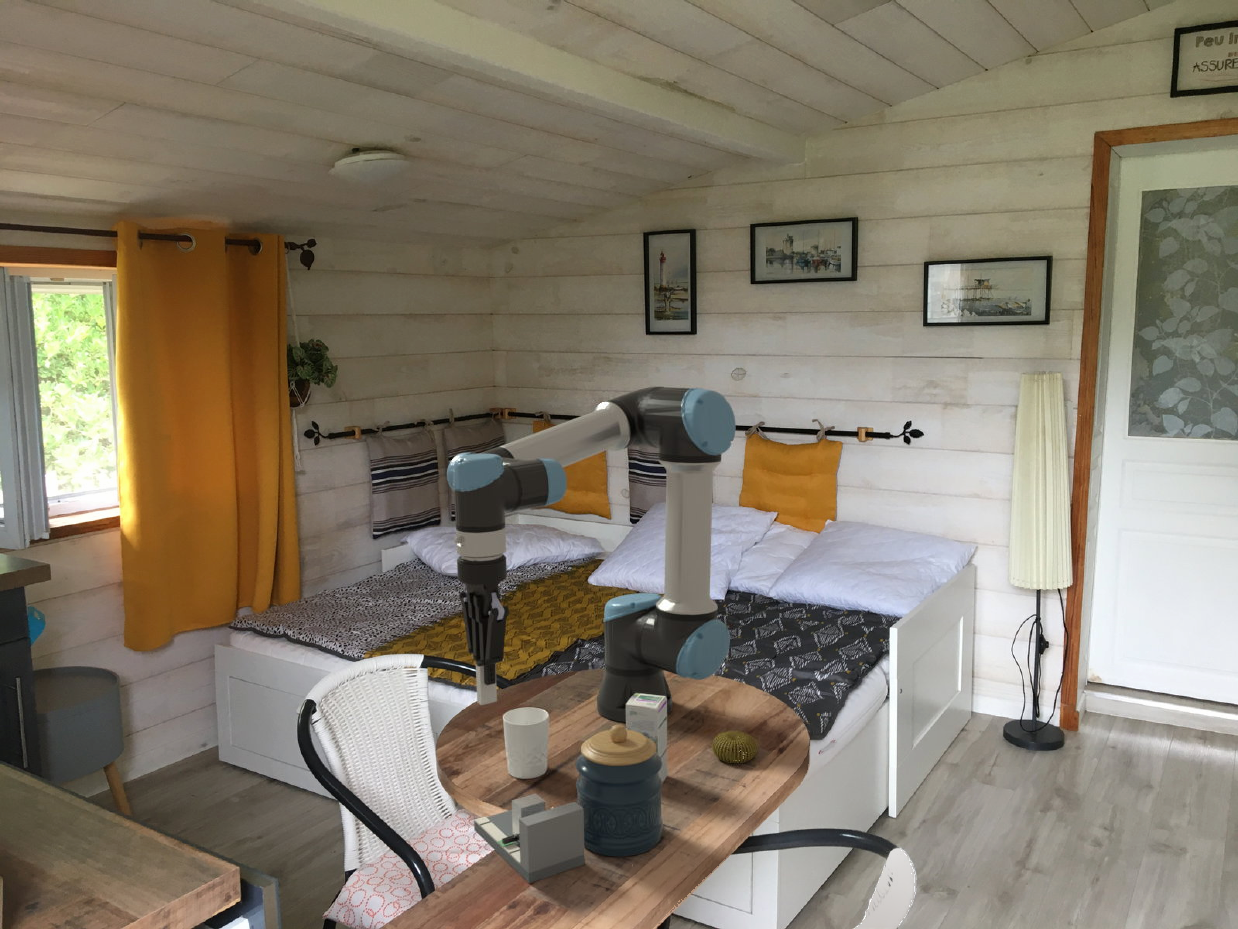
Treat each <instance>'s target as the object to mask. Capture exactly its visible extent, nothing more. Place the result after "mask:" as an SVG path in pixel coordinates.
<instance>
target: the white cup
mask: <svg viewBox="0 0 1238 929" xmlns="http://www.w3.org/2000/svg"><path fill="white" fill-rule="evenodd" d="M549 718H550V714H549V712H547V711H546V710H545V709H542V708H538V707H529V706H527V707H518V708H515V709H511V710H508V711H507V712H505V713H504V714H503V715H502V722H503V723H502V724H503V733H504V734H503V736H504V737H503V738H504V746H505V754H506V756H505V757H506V762H507V763H506V764H507V772H508V774H509V775H510V776H512V777H513V778H517V779H521V780H522V779H526V780H527V779H535V778H538V777H541V776H543V775H544V774H545V773H546V772H547V770H548V754H549V728H550V727H549V725H550V724H549V723H550V722H549V721H550V720H549Z"/></svg>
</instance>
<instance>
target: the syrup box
mask: <svg viewBox="0 0 1238 929" xmlns="http://www.w3.org/2000/svg"><path fill="white" fill-rule="evenodd" d="M625 728H626V729H627V730H633V731H636V732H639V733H641V734H643V735H644V736H645V737H647V738H649V739H651V740H652V741H653V742H654V743H655V745H656V752H655V753H657V754H658V755H659V757H660V758H661V760H662V767H661V769H660V771H659V777H660V778H661V780H662V784H664V781H665V780H666V778H667V777H668V774H669V773H668V730H667V729H668V715H667V698H666V696H659V695H650V694H640V693H635V694H634V695H633V696H632V697H631V698H630V699H629V701H628V702H627V703H626V722H625Z"/></svg>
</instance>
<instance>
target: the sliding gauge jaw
mask: <svg viewBox="0 0 1238 929" xmlns="http://www.w3.org/2000/svg"><path fill="white" fill-rule="evenodd" d="M511 810H512V827H513V835H512V836H509V837H506V838H503V839H502V843H503V844H504V845H505V844H508V843H511V842H514V841H518V842H519V843H520V833H519V819H520V818H523V817H526V816H530V815H533V814H536V813H539V812H543V811H546V801H545V799H543V798H542V797H541V796H540V795H538V794H537V793H533V794H529V795H526V796H523V797H519V798H515V799H513V800H511Z"/></svg>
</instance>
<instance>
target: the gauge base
mask: <svg viewBox="0 0 1238 929" xmlns="http://www.w3.org/2000/svg"><path fill="white" fill-rule="evenodd" d="M473 822H474V823H473V826H474V827H473V828H474V829H473V830H474V831H475V833H477V834H478V835H479V836H480V837H481V838H482V840H484V841H485V842H486V843H487V844H488V845H489V846H490V847H491V848H492V849H493V850H494V851H495V852H496V853H497V854H498V855H499V856H500V857H502V859H503V860H504V861H505V862H507V864H508V865H510V867H512V868H513V869H514V870H515V871H516V873H518V874H519V876H520V877H521V878H523V879H524V881H526V882H527V884H531V883H534V882H538V881H541V880H542V879H546V878H549V877H552V876H554V875H557V874H560V873H564V872H565V871H568V870H572V869H574V868H578V867H580V866H583V865H585V864H586V858H585V847H584V808H582V807H581V806H580V805H578V802H577V801H573V802H569V803H566V804H563V805H559V806H556V807H553V808H550V809H547V810H546V811H543V812H539V813H536V814H533V815H530V816H526V817H523V818H520V819H519V833H520V843H519V842H518V841H514V842H511V843H508V844H505V845H504V844H503V843H502V839H503V838H506V837H509V836H512V835H513V827H512V809H510V810H507V811H503V812H500V813H496V814H493V815H489V816H483V817H479V818H475V819H474V821H473Z"/></svg>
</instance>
